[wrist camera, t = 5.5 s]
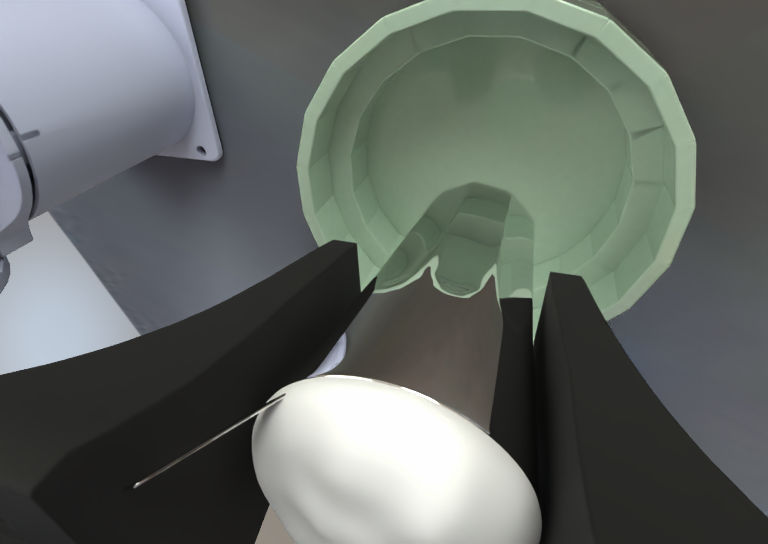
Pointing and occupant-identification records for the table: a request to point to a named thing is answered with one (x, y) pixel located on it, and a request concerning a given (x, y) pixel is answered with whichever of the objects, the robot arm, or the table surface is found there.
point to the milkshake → (416, 394)
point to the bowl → (505, 138)
